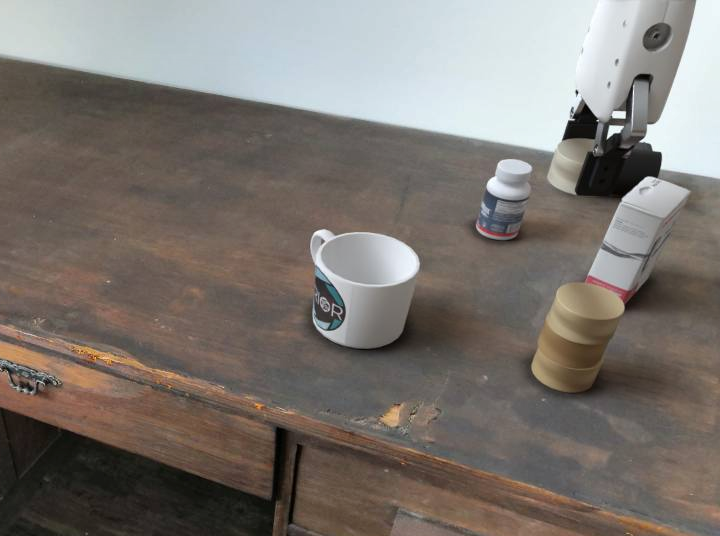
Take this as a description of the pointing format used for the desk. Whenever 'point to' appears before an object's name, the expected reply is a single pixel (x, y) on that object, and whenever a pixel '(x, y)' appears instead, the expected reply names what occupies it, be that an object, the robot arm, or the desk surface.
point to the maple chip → (585, 313)
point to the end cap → (638, 168)
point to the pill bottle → (505, 200)
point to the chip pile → (566, 362)
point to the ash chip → (569, 163)
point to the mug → (362, 287)
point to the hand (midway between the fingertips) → (582, 176)
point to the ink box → (637, 236)
